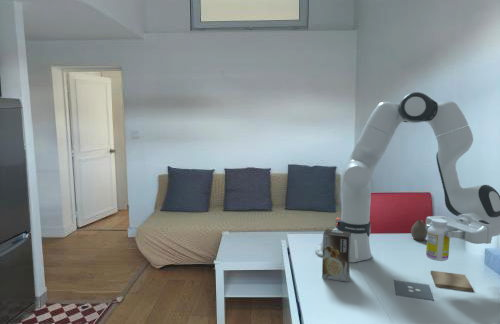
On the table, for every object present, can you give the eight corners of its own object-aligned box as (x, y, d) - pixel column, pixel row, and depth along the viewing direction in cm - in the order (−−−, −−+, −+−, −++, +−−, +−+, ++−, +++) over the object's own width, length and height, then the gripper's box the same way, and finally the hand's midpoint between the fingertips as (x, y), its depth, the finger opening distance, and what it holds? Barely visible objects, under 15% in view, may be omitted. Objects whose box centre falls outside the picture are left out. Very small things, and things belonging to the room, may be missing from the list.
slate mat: (396, 295, 117) (396, 294, 117) (394, 280, 127) (394, 279, 127) (434, 300, 113) (434, 300, 113) (428, 285, 124) (429, 284, 124)
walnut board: (435, 286, 123) (435, 283, 123) (430, 273, 134) (430, 270, 133) (472, 291, 120) (472, 288, 120) (464, 277, 130) (464, 274, 130)
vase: (428, 242, 167) (430, 223, 166) (412, 241, 168) (413, 222, 167) (424, 237, 173) (426, 219, 172) (409, 236, 175) (410, 218, 174)
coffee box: (350, 275, 131) (352, 231, 129) (348, 282, 125) (350, 237, 123) (324, 270, 135) (326, 228, 133) (321, 278, 129) (322, 233, 127)
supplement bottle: (446, 255, 124) (449, 219, 123) (449, 263, 118) (452, 224, 117) (424, 253, 127) (427, 217, 125) (426, 260, 120) (429, 222, 119)
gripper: (443, 210, 135) (413, 213, 130) (497, 226, 116) (464, 230, 111) (442, 227, 136) (412, 230, 131) (495, 245, 116) (462, 250, 112)
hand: (436, 230), depth 121 cm, fingers closed on supplement bottle, 7 cm apart
